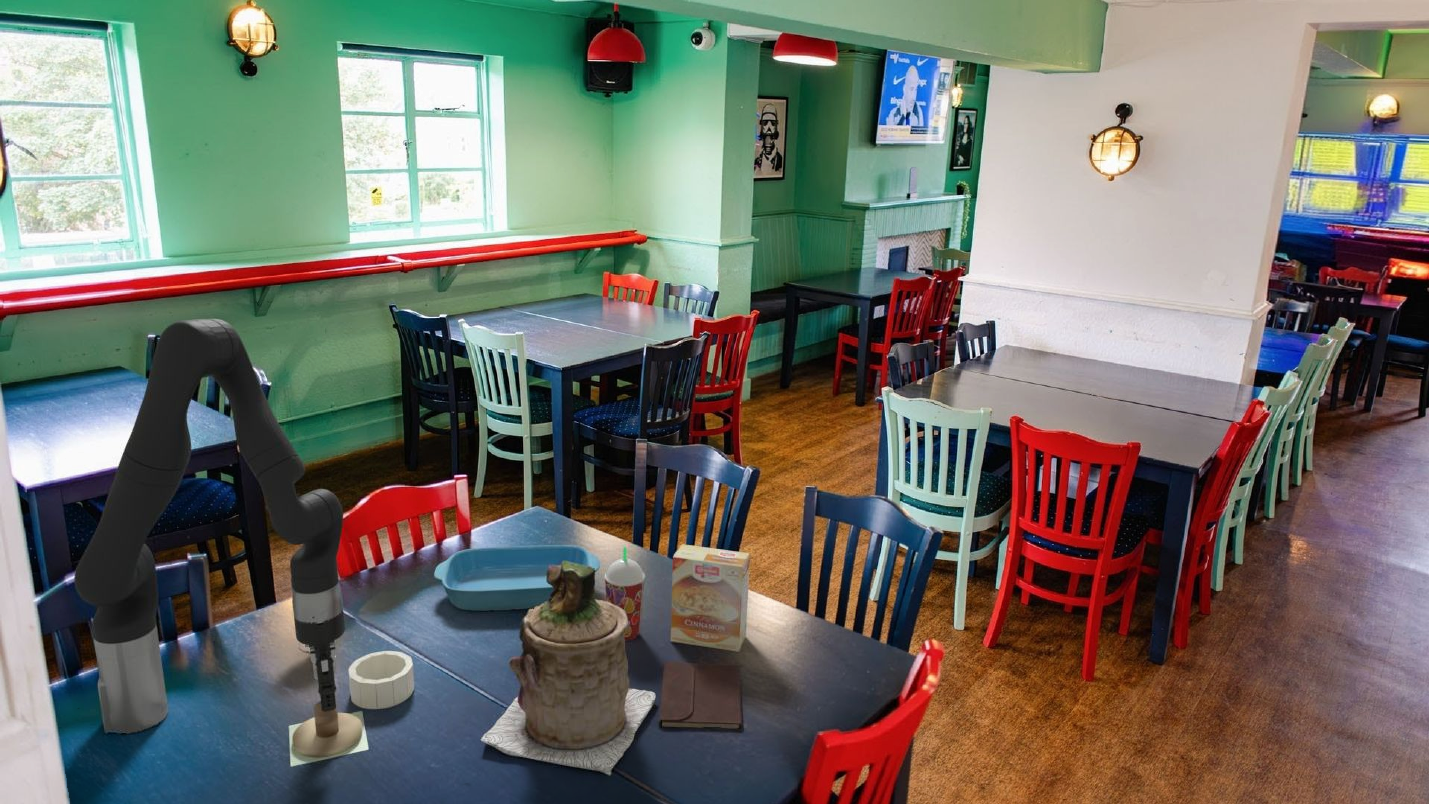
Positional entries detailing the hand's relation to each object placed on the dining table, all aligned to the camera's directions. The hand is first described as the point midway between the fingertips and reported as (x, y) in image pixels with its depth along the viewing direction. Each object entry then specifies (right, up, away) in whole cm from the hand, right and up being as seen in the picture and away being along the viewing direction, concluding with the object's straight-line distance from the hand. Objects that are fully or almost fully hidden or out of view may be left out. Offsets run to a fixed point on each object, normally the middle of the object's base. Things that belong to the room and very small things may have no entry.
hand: (327, 696), depth 160 cm
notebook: (+63, -7, +19) cm, 66 cm away
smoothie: (+46, 0, +40) cm, 61 cm away
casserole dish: (+21, +6, +57) cm, 61 cm away
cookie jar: (+40, -8, +9) cm, 42 cm away
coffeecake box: (+64, -1, +40) cm, 76 cm away
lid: (-1, -8, +2) cm, 8 cm away
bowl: (+4, -5, +16) cm, 17 cm away
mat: (-1, -8, +2) cm, 9 cm away
